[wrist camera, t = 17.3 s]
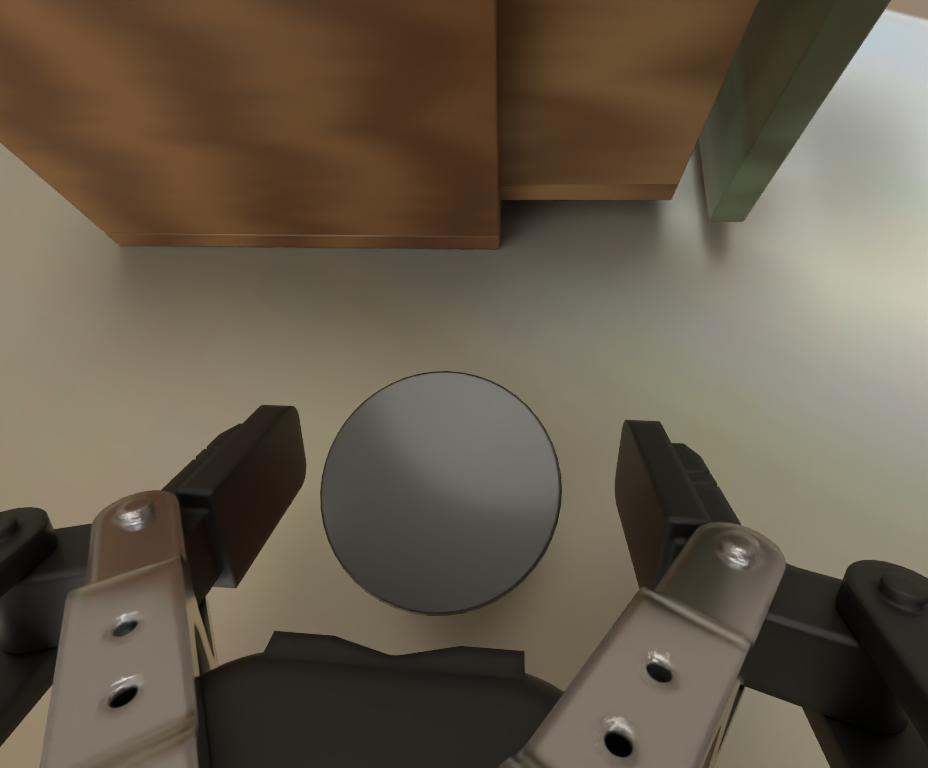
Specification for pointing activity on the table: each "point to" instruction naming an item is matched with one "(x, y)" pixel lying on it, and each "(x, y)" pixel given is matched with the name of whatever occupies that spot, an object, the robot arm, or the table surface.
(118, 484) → the table surface
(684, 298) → the table surface
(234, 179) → the cabinet
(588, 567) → the table surface
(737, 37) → the drawer
